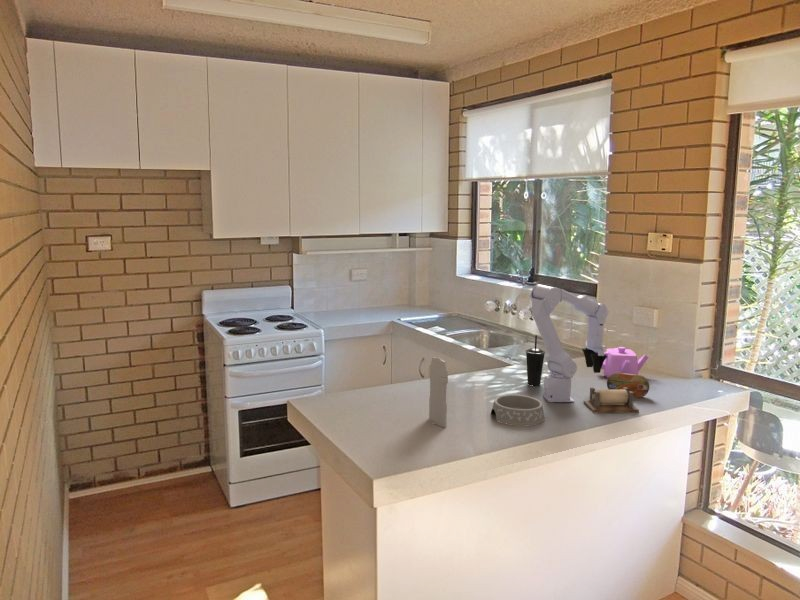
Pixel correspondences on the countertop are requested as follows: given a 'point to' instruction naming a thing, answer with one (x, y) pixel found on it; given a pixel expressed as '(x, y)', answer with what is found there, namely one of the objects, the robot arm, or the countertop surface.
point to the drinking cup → (534, 364)
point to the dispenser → (438, 392)
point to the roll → (612, 396)
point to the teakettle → (622, 361)
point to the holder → (610, 408)
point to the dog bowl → (518, 410)
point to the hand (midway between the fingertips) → (593, 369)
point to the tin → (629, 383)
